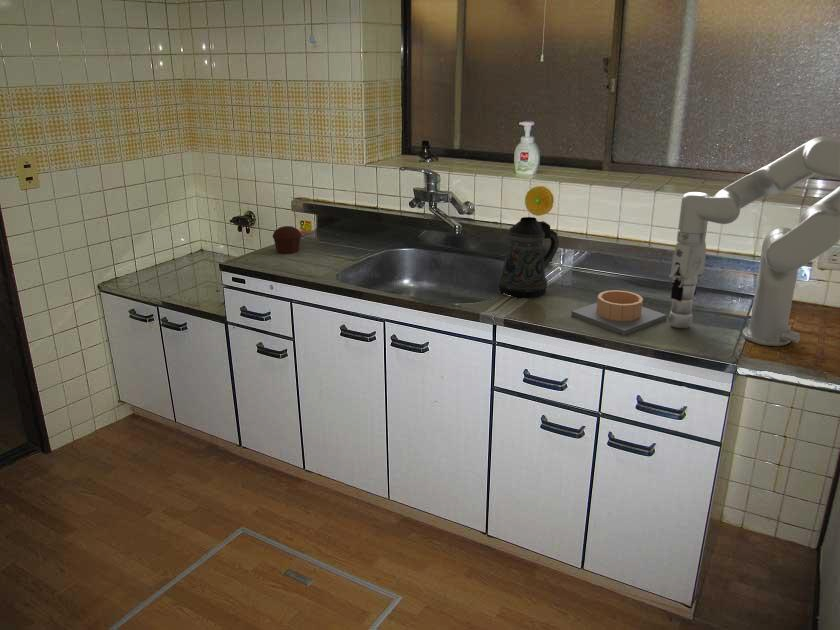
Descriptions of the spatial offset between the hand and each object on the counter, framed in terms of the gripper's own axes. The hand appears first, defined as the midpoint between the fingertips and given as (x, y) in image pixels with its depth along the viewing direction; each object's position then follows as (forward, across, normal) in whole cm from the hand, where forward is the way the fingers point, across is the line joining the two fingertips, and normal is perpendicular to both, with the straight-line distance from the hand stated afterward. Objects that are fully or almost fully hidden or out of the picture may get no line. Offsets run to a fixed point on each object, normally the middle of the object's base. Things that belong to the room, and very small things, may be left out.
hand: (683, 296), depth 207 cm
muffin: (+10, -53, +146) cm, 156 cm away
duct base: (+10, -8, +16) cm, 20 cm away
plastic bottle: (+10, 0, 0) cm, 10 cm away
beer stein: (+10, -12, +52) cm, 54 cm away
